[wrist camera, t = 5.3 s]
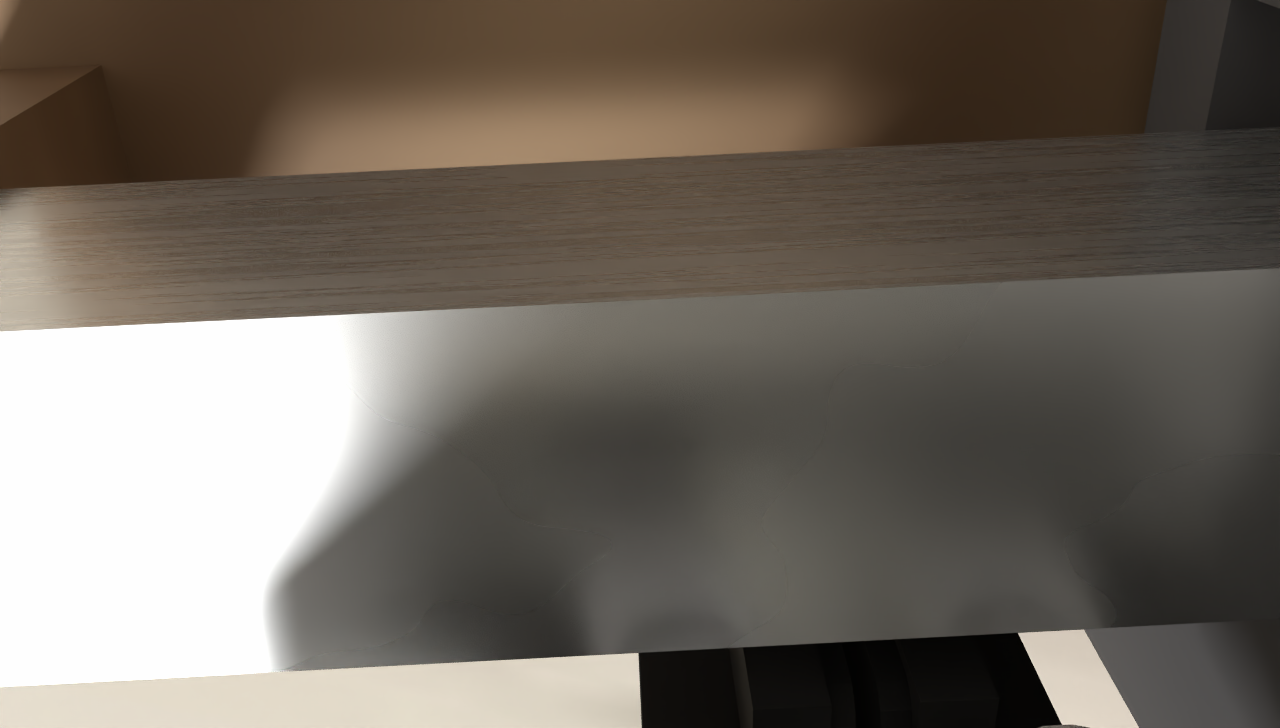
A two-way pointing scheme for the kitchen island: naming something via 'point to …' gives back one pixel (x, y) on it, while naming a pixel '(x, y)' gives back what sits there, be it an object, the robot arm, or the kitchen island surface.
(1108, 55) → the wooden rail stand
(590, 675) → the kitchen island surface
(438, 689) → the kitchen island surface
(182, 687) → the kitchen island surface
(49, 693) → the kitchen island surface
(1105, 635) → the notched grey block
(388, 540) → the rail
